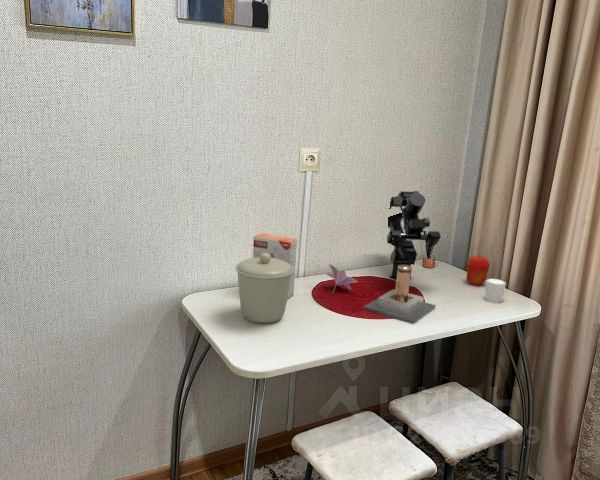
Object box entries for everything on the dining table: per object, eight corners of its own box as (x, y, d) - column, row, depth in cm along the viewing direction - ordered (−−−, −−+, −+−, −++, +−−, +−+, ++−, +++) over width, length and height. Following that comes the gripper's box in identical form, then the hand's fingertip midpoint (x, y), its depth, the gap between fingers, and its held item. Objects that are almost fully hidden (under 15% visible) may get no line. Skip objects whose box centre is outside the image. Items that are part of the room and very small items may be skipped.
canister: (271, 334, 170) (274, 266, 164) (222, 319, 178) (223, 254, 173) (301, 314, 185) (305, 252, 180) (254, 302, 194) (256, 241, 188)
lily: (358, 299, 204) (364, 273, 206) (331, 289, 199) (338, 263, 201) (339, 298, 215) (345, 273, 217) (313, 289, 210) (320, 264, 212)
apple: (468, 278, 231) (472, 250, 228) (489, 283, 226) (493, 254, 223) (461, 283, 224) (465, 254, 221) (482, 288, 219) (486, 259, 216)
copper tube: (391, 303, 196) (395, 265, 192) (402, 302, 198) (406, 264, 194) (398, 308, 192) (402, 269, 188) (409, 307, 194) (414, 268, 190)
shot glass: (500, 297, 212) (503, 279, 210) (505, 303, 205) (508, 285, 203) (481, 295, 212) (484, 277, 211) (485, 302, 206) (488, 283, 204)
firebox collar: (363, 309, 193) (364, 298, 192) (388, 295, 207) (389, 284, 206) (413, 323, 183) (414, 312, 182) (435, 308, 197) (436, 297, 196)
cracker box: (250, 293, 201) (252, 235, 196) (258, 288, 207) (260, 231, 201) (287, 300, 196) (290, 241, 191) (294, 295, 202) (297, 237, 196)
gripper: (391, 208, 206) (396, 246, 199) (442, 210, 208) (448, 248, 201) (384, 224, 216) (388, 261, 208) (433, 225, 218) (438, 262, 210)
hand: (416, 257), depth 207 cm, fingers open, 9 cm apart
